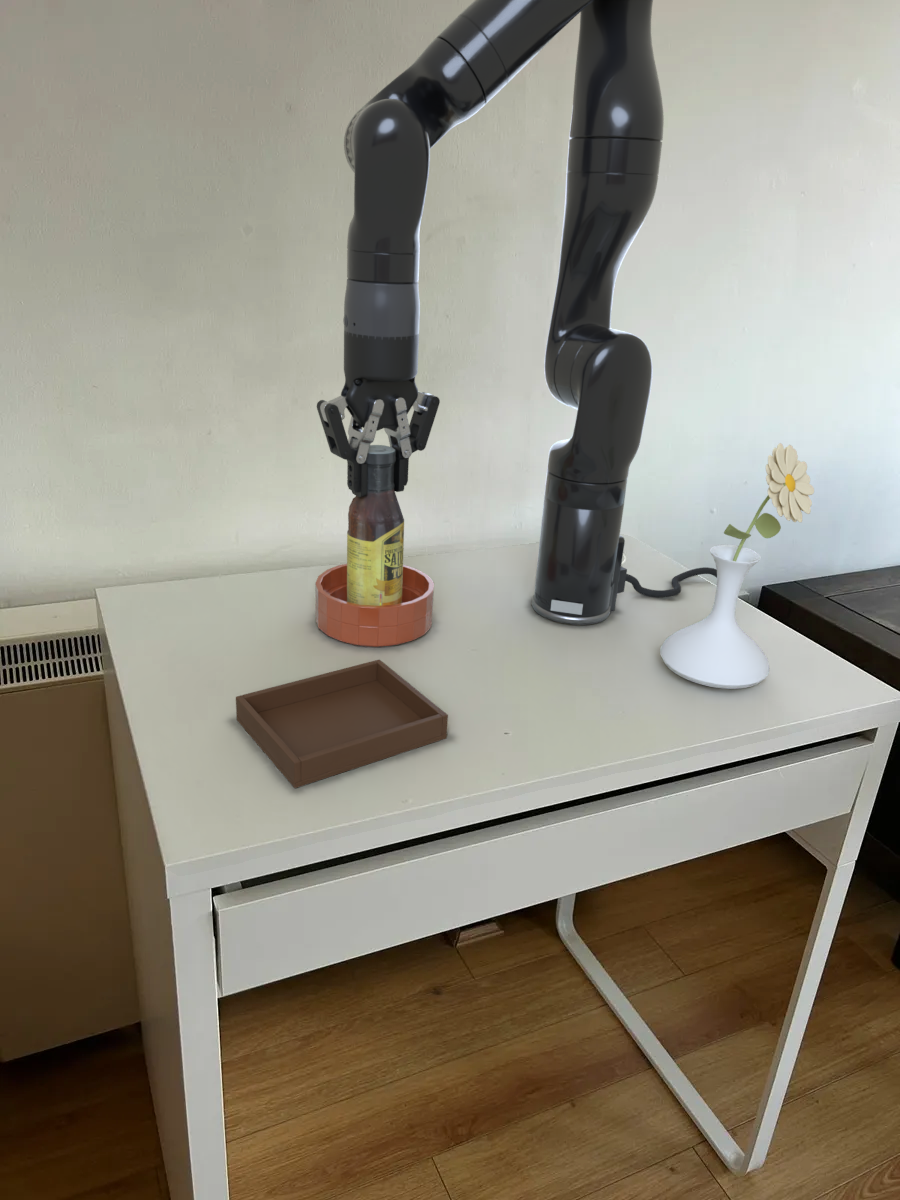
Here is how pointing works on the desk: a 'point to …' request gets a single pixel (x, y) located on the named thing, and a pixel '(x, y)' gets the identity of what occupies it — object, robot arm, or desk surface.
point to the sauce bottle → (376, 536)
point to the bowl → (373, 610)
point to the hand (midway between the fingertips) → (378, 491)
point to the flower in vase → (738, 590)
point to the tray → (339, 721)
